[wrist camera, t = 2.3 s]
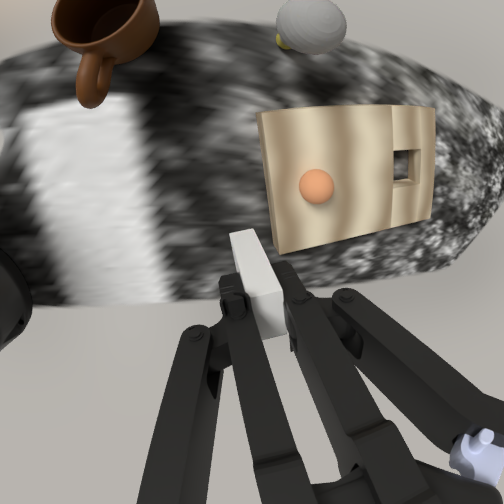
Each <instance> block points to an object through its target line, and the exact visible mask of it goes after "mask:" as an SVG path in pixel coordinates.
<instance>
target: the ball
mask: <svg viewBox="0 0 504 504" xmlns="http://www.w3.org/2000/svg"><path fill="white" fill-rule="evenodd" d="M299 191H300V193H301V195H302V197H303V198H304V199H305V200H306V201H308V202H309V203H312V204H322V203H325V202H326V201H328V200H329V199H330V198H331V196H332V195H333V192H334V182H333V180H332V178H331V176H330V175H329V174H328V173H327V172H325V171H323V170H320V169H312V170H309V171H307V172H306V173H305V174H304V175H303V176H302V177H301V179H300V182H299Z"/></svg>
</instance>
